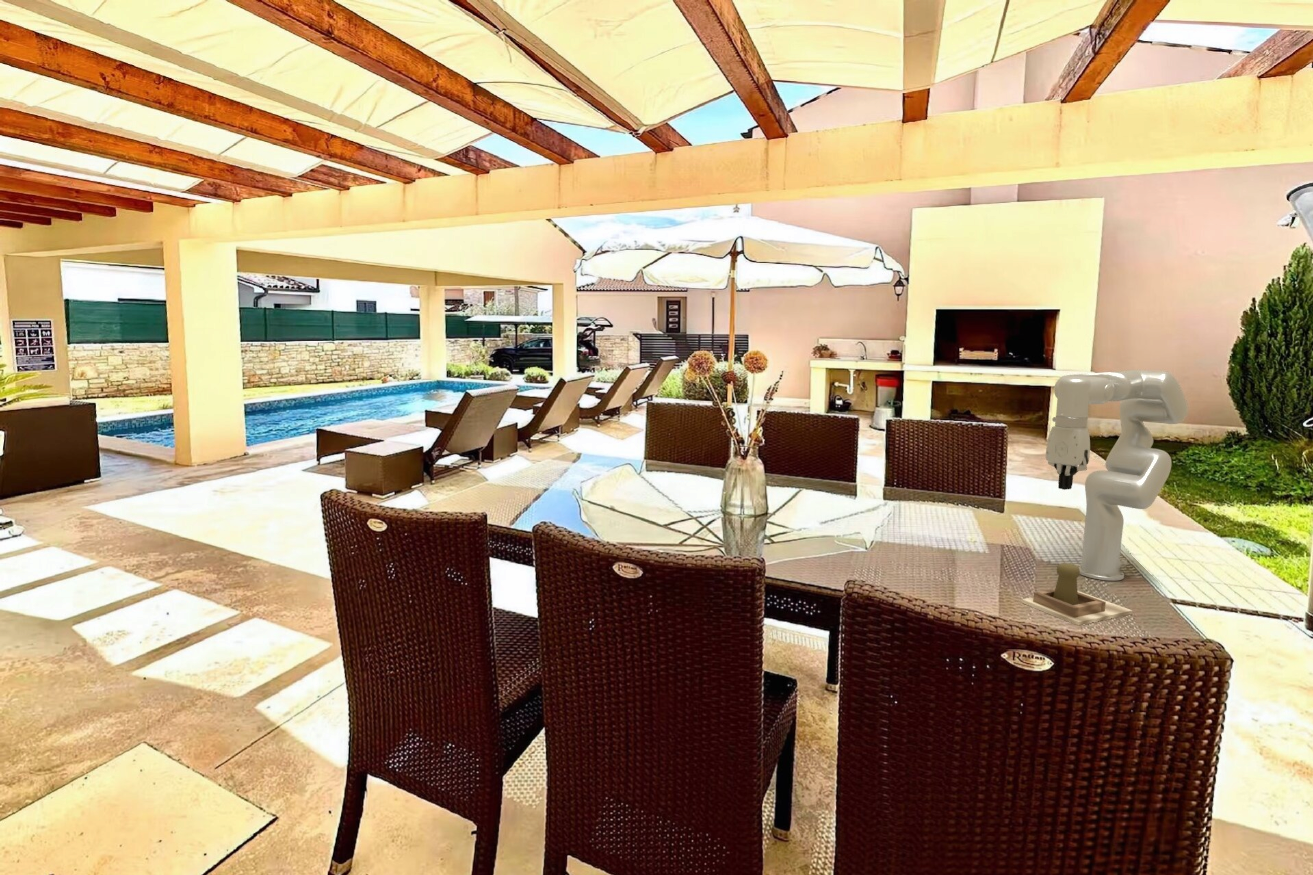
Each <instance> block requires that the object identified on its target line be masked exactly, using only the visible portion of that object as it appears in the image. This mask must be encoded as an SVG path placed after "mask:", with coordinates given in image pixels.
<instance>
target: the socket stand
mask: <svg viewBox="0 0 1313 875" xmlns="http://www.w3.org/2000/svg"><path fill="white" fill-rule="evenodd" d="M1054 592H1055V588H1051V589H1046V590H1042V591H1041V590H1040V591H1037V592H1036V591H1035V592H1033V597H1026V598H1022V599H1021V603H1022V604H1023V605H1024V604H1025V605H1026V606H1028V607H1031V608H1034V609H1036V610H1039V611H1041V612H1044V613H1046V614H1049V615H1051V616H1053V617H1055V618H1057V619H1060V620H1063V621H1065V620H1067V621H1066V622H1068V621H1069V623H1070V622H1072V623H1071V624H1073V625H1075V624H1076V625H1075V626H1077V627H1079V626H1084V625H1083V624H1085V625H1088V624H1093V623H1092V622H1094V623H1098V621H1099V622H1101V621H1100V620H1103V621H1107V620H1111V618H1112V619H1116V618H1120V617H1125V616H1130V615H1132V614H1133V610H1132V609H1129V608H1126V607H1124V606H1122V605H1118V604H1115V603H1113V602H1110V601H1107V600H1104V599H1102V598H1098V597H1096V596H1093V595H1090V594H1087V593H1085V592H1082V591H1080V590H1077V593H1078V604H1077V605H1071V604H1068V603H1066V602H1063V601H1061V600H1058V599H1055V598H1053V596H1054Z"/></svg>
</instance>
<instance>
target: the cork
mask: <svg viewBox="0 0 1313 875" xmlns="http://www.w3.org/2000/svg"><path fill="white" fill-rule="evenodd" d="M1076 565H1077V564H1073V563H1069V562H1068V563H1067V562H1061V563H1059V564H1058V565H1057V566H1056V574H1057V581H1056V584H1055V588H1054V589H1055V592H1054V596H1053V598H1055V599H1058V600H1061V601H1063V602H1066V603H1068V604H1071V605H1077V604H1078V593H1077V591H1078V579H1077V578H1079V577H1080V575H1081V574H1080V569H1079V567H1078V566H1076Z"/></svg>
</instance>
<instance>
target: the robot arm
mask: <svg viewBox="0 0 1313 875" xmlns="http://www.w3.org/2000/svg"><path fill="white" fill-rule="evenodd" d="M1053 393H1054V395H1055V398H1056V411H1055V416H1053V417H1052V419H1051V420H1052V422H1054V426H1051V428H1050V431H1049V435H1048V438H1047V442H1046V449H1045V461H1047V464H1048V465H1050V466H1051V467H1054V469H1055V470H1056V474H1057V475H1058V482H1057V483H1058V489H1060V490H1064V491H1065V490H1072V487H1073V481H1074V480H1073V479H1074V476H1076V474H1077V473H1078V472H1081V471H1082V472H1083V471H1084V472H1085V471H1087V470H1088V464H1089V462H1090V457H1091V440H1090V438H1091V436H1090V430H1089V429H1088V428H1087V427H1088V422H1089V420H1088V419H1089V418H1088V417H1089V412H1090V411H1089V410H1090V408H1089V407H1090V405H1103V404H1106V403H1109V402H1120V405H1119V418H1120V420H1119V421H1120V428H1121V432H1120V435H1119V437H1118V439H1117V440H1116V442H1115V443H1114V445H1113V447H1112V448H1111V450H1110V451H1109V454H1107V457H1106V459H1105V465H1104V466H1105V469H1106V470H1095V471H1092V472H1091V473H1089V474H1088V476H1087V477H1086V479H1085V481H1084V483H1085V484H1084V492H1085V498H1086V503H1085V504H1086V511H1085V521H1084V531H1083V542H1082V552H1081V559H1080V560H1081V563H1079V564H1075V565H1076V566H1078V567H1079V569H1080V575H1081V576H1083V577H1087V578H1091V579H1095V580H1100V581H1113V582H1116V581H1122V580H1124V578H1125V573H1124V572H1123V571H1121V570H1120V568H1122V567H1126V566H1127V565H1128V561H1127V560H1126V559H1120V558H1121V549H1122V541H1123V540H1122V539H1123V529H1124V516H1123V513H1122V511H1121V509H1120V507H1125V508H1129V509H1130V508H1132V509H1136V510H1146V509H1148V508H1149V507H1151V506H1152V505H1153V504H1154V502H1155V500H1156V499H1157V497H1158V496H1159V494H1160V492H1161V491H1162V488H1163V487H1164V485H1165V483H1166V481H1167V479H1168V478H1169V476H1170V473H1171V470H1172V458H1171V456H1170V455H1169V453H1168V452H1166V451H1165V450H1162V449H1159V448H1153V447H1152V446H1153V444H1154V437H1153V436H1152V433H1151V432H1150V431H1149V429H1148V428H1147V427H1146V425H1145V424H1144V423H1155V424H1165V425H1177V424H1180V423H1183V422H1184V420H1185V419H1186V418H1187V416H1188V412H1189V406H1188V401H1187V398H1186V396H1185V394H1184V392H1183V389H1182V387H1181V385H1180V383H1179V381H1178V379H1177V378H1176V377H1175V376H1174V375H1173V374H1172V373H1171V372H1169V371H1165V370H1146V369H1145V370H1142V369H1129V370H1121V371H1111V372H1109V371H1107V372H1097V373H1096V372H1095V373H1077V374H1065V375H1062V376H1061V377H1059V378H1058V379H1057V381H1056V382H1055V384H1054V387H1053ZM1119 506H1120V507H1119Z"/></svg>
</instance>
